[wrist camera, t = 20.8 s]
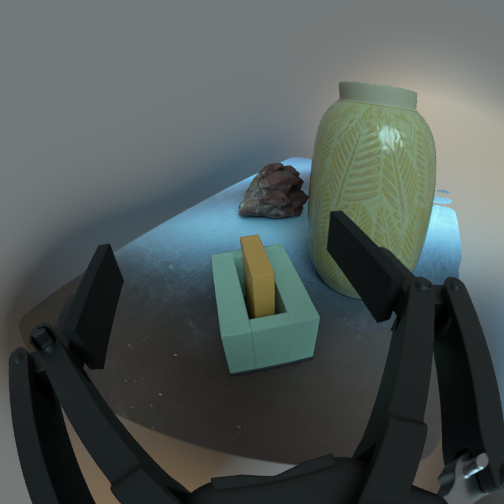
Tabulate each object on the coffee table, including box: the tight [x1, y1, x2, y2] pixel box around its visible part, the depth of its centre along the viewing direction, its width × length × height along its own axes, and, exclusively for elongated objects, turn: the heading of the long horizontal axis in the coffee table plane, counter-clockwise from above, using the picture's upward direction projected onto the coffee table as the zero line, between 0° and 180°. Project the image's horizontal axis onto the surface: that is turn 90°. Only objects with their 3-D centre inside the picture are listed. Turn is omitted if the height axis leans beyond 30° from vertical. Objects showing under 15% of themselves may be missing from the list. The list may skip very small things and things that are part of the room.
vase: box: [307, 82, 436, 299], centre depth 32 cm, size 17×17×27 cm
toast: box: [240, 235, 275, 319], centre depth 29 cm, size 7×2×10 cm, turn 11°
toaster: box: [211, 244, 320, 376], centre depth 31 cm, size 14×9×7 cm, turn 11°
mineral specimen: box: [239, 163, 309, 219], centre depth 54 cm, size 12×13×15 cm
